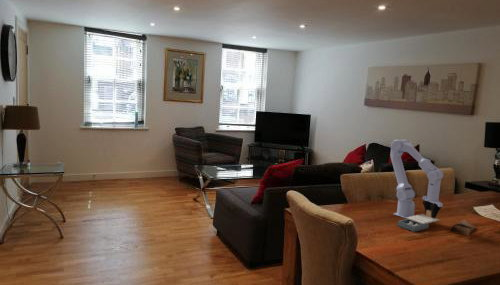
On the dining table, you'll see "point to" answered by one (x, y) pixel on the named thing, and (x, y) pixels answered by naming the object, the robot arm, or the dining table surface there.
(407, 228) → the tub
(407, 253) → the dining table surface
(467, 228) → the sunglasses case
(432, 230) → the dining table surface
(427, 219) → the lid
